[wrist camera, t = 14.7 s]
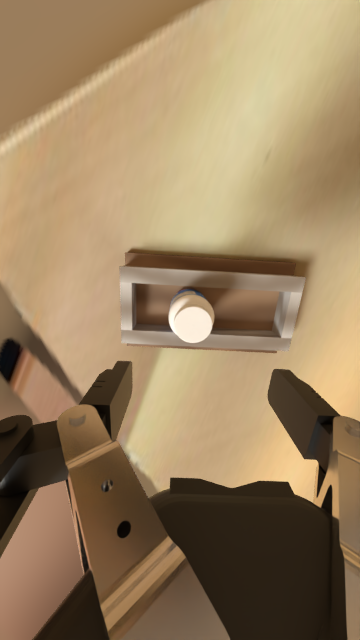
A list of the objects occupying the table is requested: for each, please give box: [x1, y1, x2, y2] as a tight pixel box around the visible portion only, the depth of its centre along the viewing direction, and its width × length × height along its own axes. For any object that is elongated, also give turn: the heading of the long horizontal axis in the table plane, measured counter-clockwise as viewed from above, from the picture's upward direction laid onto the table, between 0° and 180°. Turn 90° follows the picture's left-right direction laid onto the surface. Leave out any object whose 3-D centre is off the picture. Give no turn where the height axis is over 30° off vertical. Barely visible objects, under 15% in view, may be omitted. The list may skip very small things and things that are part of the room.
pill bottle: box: [169, 289, 214, 343], centre depth 25 cm, size 6×5×10 cm
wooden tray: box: [119, 253, 306, 353], centre depth 29 cm, size 14×24×4 cm, turn 87°
